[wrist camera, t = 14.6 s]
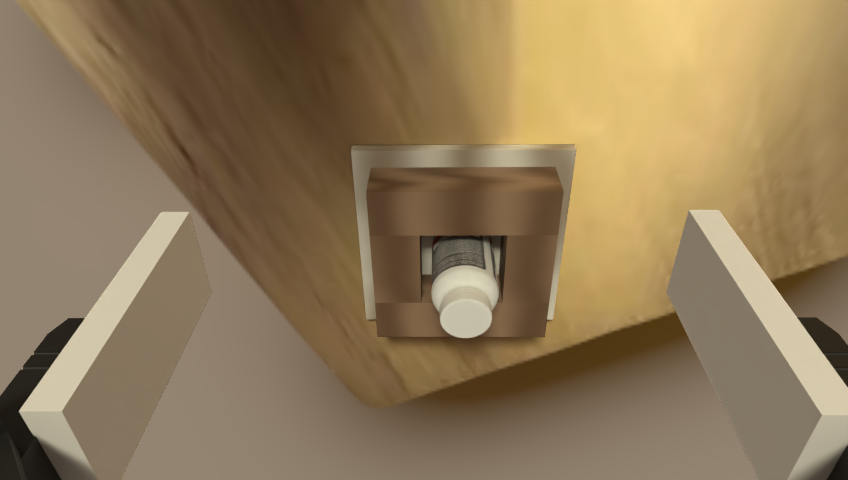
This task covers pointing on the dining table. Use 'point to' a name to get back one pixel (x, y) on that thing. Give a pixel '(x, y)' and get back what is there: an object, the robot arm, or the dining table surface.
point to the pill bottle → (464, 283)
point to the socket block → (461, 228)
